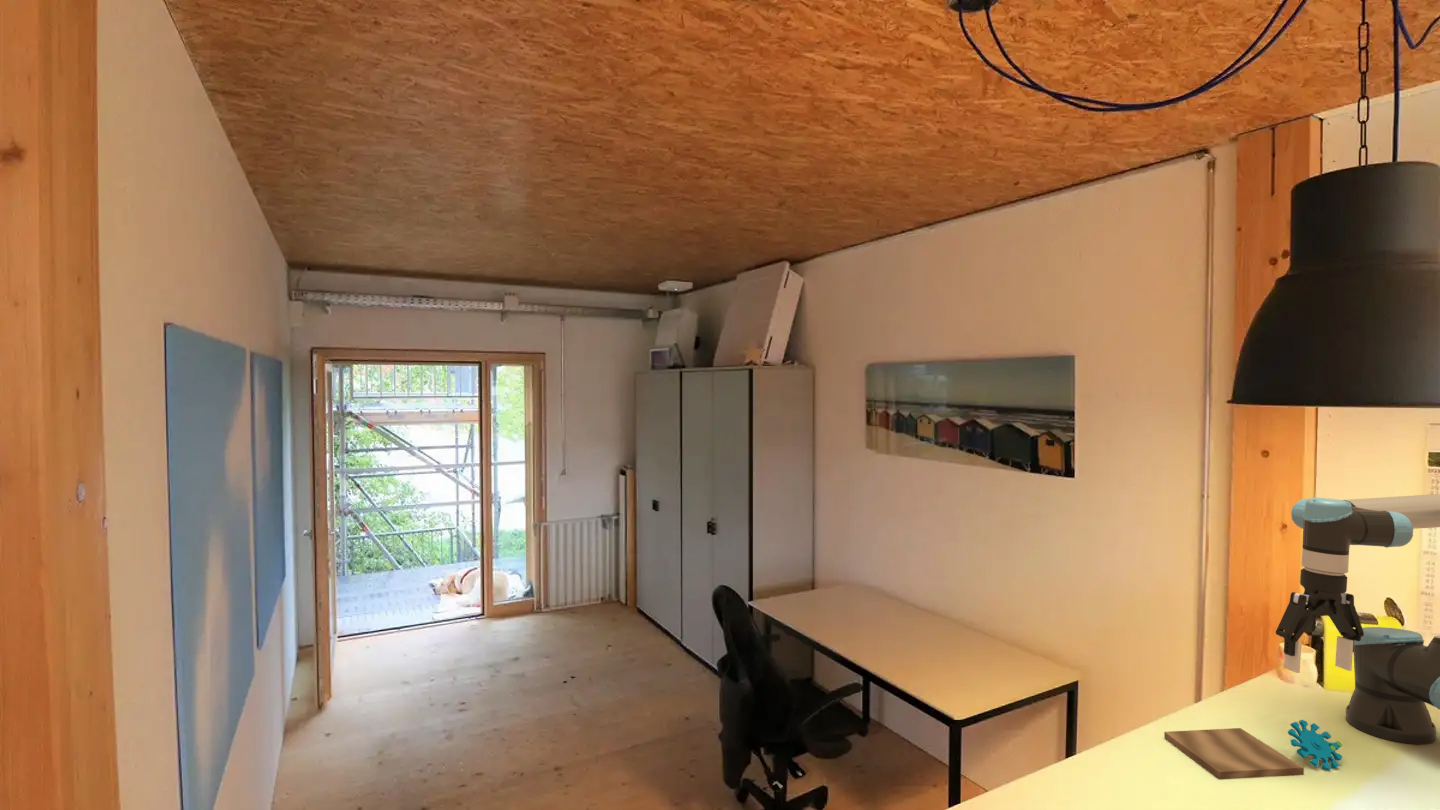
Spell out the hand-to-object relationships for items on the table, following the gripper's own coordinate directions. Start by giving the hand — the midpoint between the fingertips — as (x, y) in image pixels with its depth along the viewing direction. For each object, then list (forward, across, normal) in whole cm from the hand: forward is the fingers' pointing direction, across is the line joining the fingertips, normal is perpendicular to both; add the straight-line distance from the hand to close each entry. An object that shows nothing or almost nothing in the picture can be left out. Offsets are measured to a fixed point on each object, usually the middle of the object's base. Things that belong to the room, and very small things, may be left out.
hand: (1317, 669), depth 147 cm
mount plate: (+21, +14, -7) cm, 26 cm away
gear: (+20, -2, 0) cm, 20 cm away
